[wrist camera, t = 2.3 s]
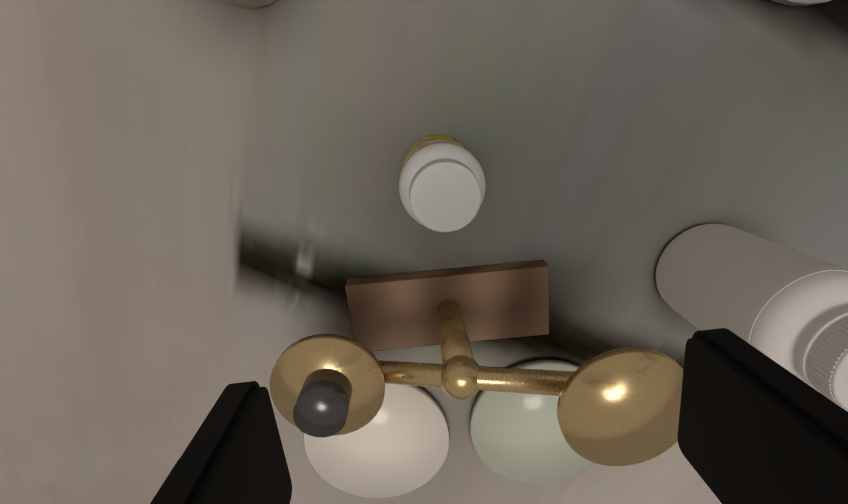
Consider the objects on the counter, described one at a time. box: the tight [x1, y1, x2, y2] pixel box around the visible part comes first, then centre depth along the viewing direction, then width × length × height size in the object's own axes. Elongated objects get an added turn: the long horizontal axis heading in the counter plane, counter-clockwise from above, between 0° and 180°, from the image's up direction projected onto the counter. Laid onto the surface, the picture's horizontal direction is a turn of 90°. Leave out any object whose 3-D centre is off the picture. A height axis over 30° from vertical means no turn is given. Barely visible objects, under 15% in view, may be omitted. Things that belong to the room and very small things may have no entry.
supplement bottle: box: [399, 135, 486, 232], centre depth 29 cm, size 5×5×10 cm
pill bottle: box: [656, 224, 848, 410], centre depth 29 cm, size 8×8×15 cm
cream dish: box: [304, 384, 449, 498], centre depth 40 cm, size 13×13×1 cm
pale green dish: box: [470, 360, 593, 484], centre depth 40 cm, size 13×13×1 cm
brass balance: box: [270, 260, 683, 466], centre depth 30 cm, size 23×7×15 cm, turn 95°
